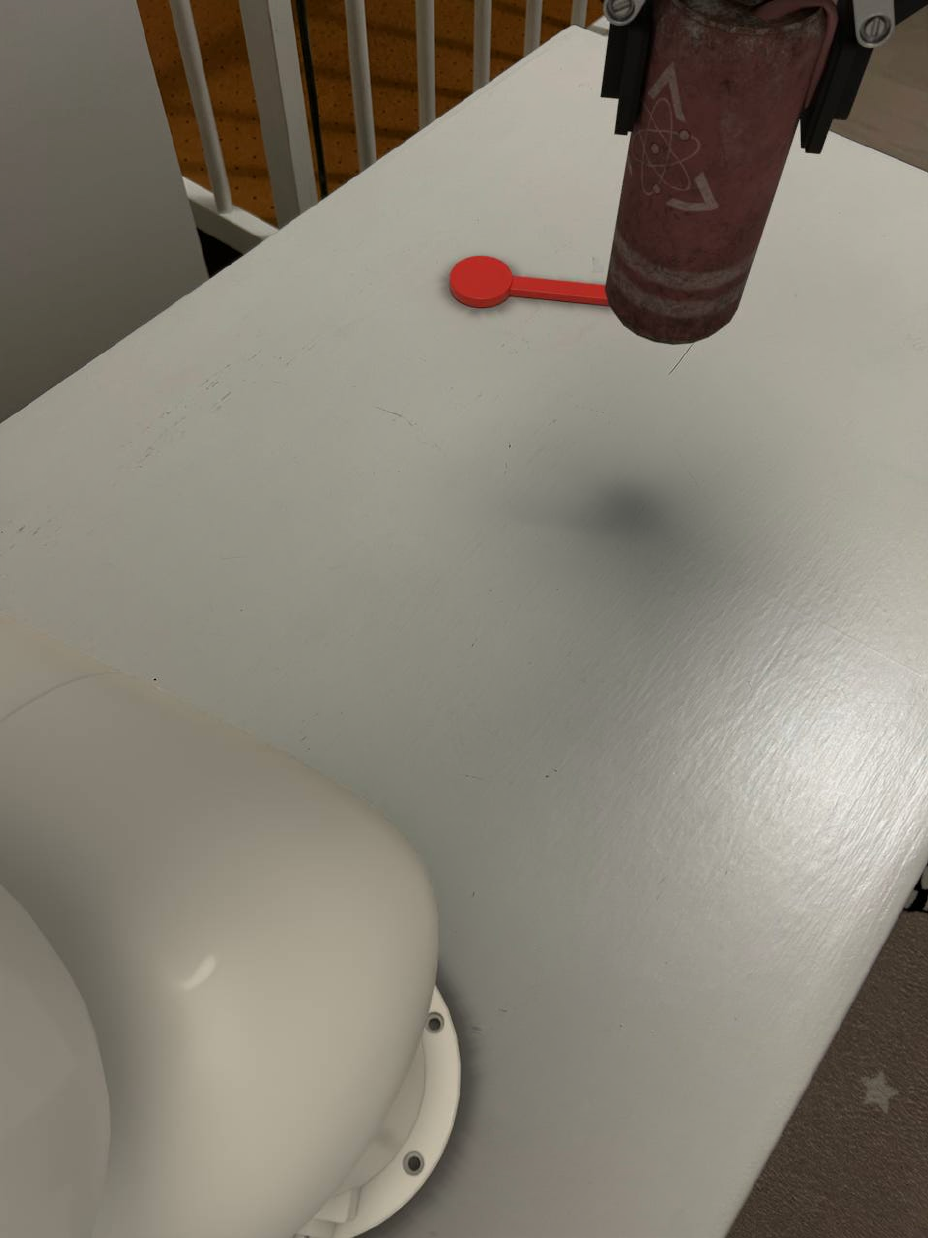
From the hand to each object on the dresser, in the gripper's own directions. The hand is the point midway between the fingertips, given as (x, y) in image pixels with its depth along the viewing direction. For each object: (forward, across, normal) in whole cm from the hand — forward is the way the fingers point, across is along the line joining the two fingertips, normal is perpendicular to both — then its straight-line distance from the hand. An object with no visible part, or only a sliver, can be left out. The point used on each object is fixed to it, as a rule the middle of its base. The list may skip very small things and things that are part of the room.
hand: (717, 118), depth 37 cm
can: (+9, 0, 0) cm, 9 cm away
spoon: (+25, -6, +18) cm, 31 cm away
